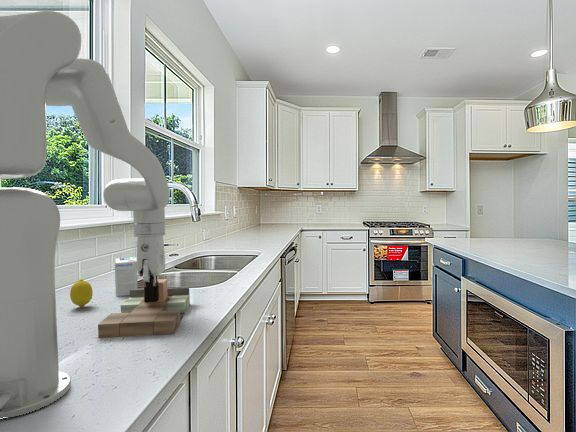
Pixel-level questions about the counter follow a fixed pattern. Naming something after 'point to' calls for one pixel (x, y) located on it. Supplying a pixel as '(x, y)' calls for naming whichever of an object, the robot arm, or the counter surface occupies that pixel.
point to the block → (162, 290)
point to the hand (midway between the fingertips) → (151, 301)
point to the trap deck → (146, 315)
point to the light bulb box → (125, 275)
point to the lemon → (81, 293)
